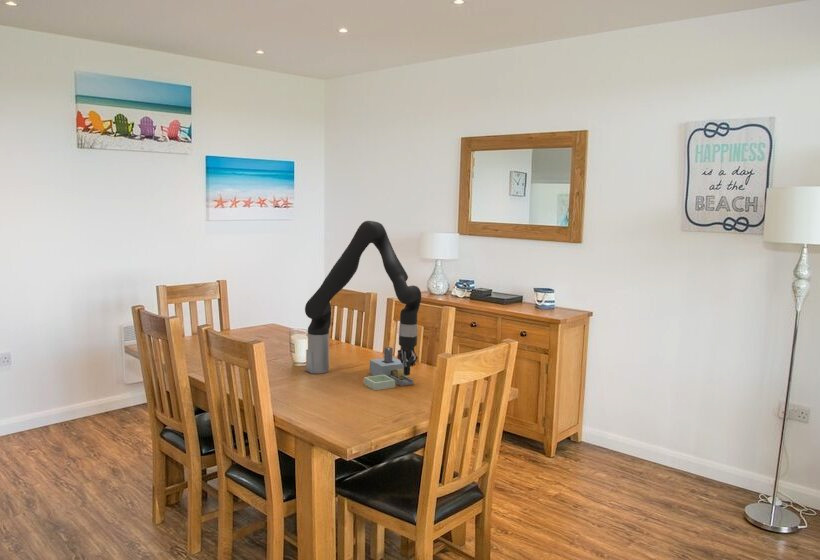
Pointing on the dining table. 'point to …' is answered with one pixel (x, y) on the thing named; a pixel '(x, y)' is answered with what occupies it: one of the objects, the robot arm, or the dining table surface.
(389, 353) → the drill peg
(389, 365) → the socket block
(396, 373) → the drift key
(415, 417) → the dining table surface
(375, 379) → the tray
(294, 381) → the dining table surface
